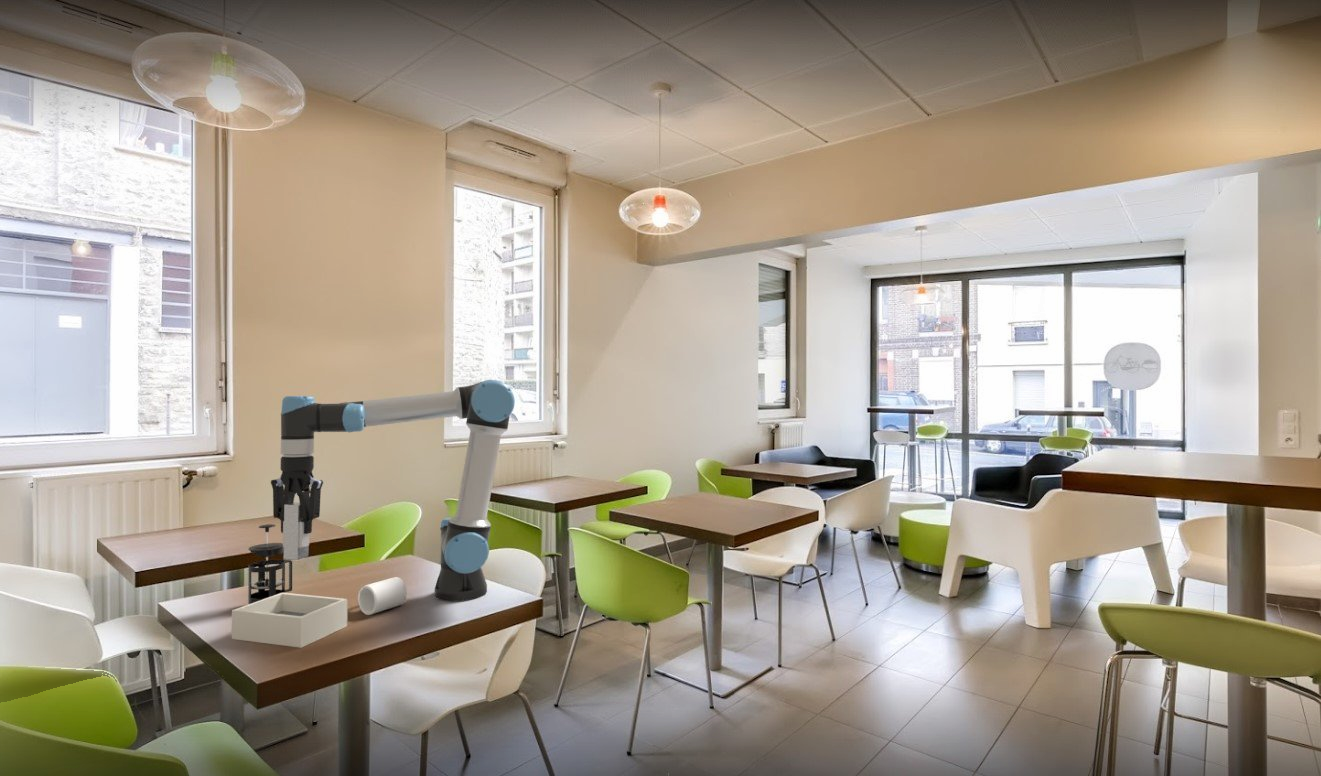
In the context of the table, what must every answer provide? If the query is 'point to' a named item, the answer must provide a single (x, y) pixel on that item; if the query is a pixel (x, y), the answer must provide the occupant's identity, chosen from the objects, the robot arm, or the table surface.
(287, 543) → the peg
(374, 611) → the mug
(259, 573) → the french press
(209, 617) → the table surface
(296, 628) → the box
